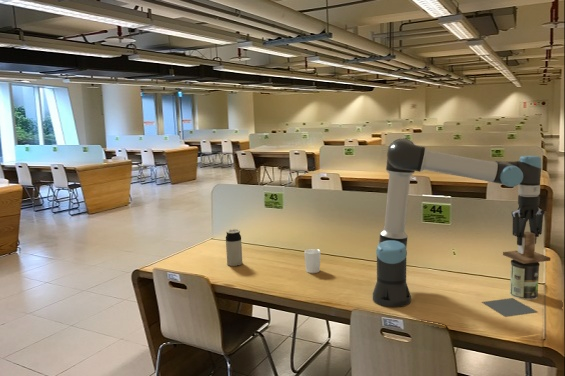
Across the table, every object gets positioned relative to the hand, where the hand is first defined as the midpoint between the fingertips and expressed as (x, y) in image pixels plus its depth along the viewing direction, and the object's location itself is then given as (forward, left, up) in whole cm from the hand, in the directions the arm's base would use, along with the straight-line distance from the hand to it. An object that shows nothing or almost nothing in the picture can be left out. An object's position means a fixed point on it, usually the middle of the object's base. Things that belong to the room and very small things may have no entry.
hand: (526, 252), depth 186 cm
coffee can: (0, 0, -18) cm, 18 cm away
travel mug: (-110, +78, -18) cm, 136 cm away
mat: (-14, -9, -18) cm, 25 cm away
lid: (0, 0, -2) cm, 2 cm away
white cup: (-74, +55, -18) cm, 94 cm away
